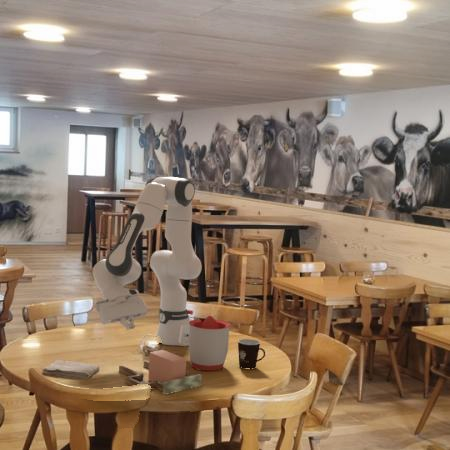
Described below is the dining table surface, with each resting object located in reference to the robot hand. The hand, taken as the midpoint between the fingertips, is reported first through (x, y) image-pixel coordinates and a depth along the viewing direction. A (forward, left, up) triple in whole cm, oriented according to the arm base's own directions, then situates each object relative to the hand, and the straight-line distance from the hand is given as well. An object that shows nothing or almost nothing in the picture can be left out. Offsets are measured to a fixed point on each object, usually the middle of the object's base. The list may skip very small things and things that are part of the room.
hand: (131, 328), depth 255 cm
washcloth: (+22, -6, -15) cm, 27 cm away
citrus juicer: (-25, +16, -15) cm, 33 cm away
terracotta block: (+1, +23, -14) cm, 27 cm away
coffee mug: (-37, +27, -15) cm, 48 cm away
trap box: (+1, +17, -14) cm, 22 cm away
